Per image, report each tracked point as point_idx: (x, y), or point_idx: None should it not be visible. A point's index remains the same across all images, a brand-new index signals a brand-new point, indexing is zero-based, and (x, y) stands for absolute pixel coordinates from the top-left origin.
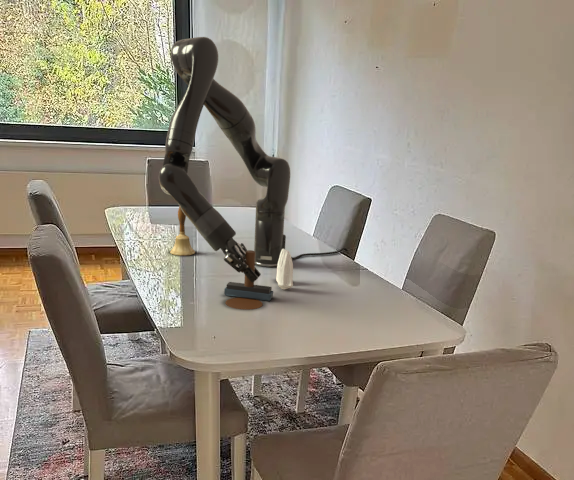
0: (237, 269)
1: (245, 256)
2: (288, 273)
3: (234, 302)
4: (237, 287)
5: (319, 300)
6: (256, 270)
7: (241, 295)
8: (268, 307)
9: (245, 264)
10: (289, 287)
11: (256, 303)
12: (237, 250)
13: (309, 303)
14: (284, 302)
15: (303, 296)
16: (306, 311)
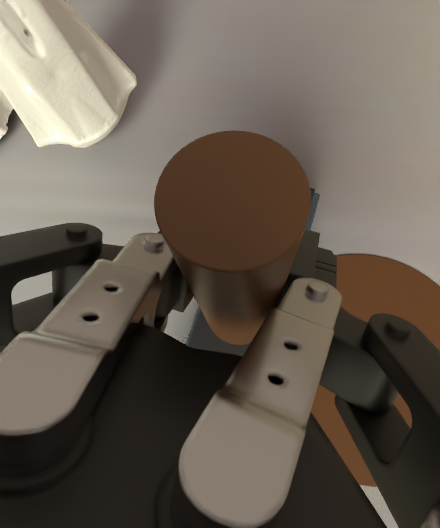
0: (402, 417)
1: (229, 294)
2: (82, 45)
3: None
4: None
5: (261, 4)
6: None
7: None
8: (412, 228)
9: (336, 313)
10: (127, 97)
11: (357, 287)
12: (304, 432)
13: (311, 44)
14: (313, 146)
15: (207, 59)
16: (434, 64)
